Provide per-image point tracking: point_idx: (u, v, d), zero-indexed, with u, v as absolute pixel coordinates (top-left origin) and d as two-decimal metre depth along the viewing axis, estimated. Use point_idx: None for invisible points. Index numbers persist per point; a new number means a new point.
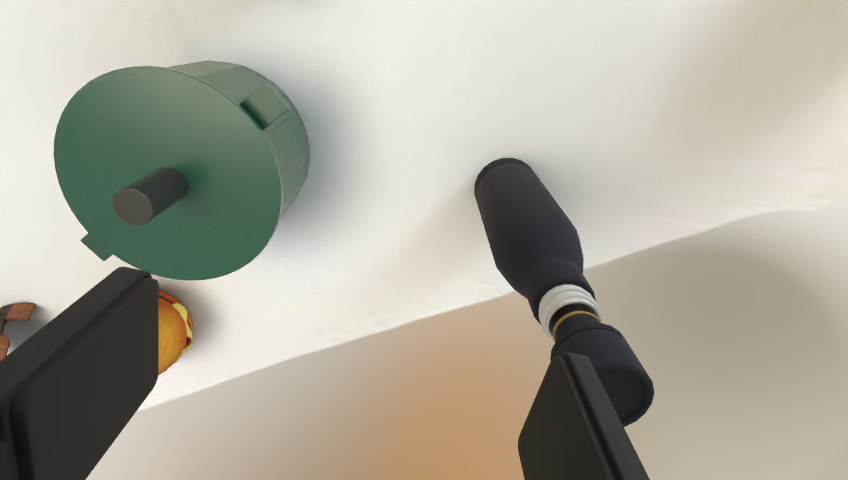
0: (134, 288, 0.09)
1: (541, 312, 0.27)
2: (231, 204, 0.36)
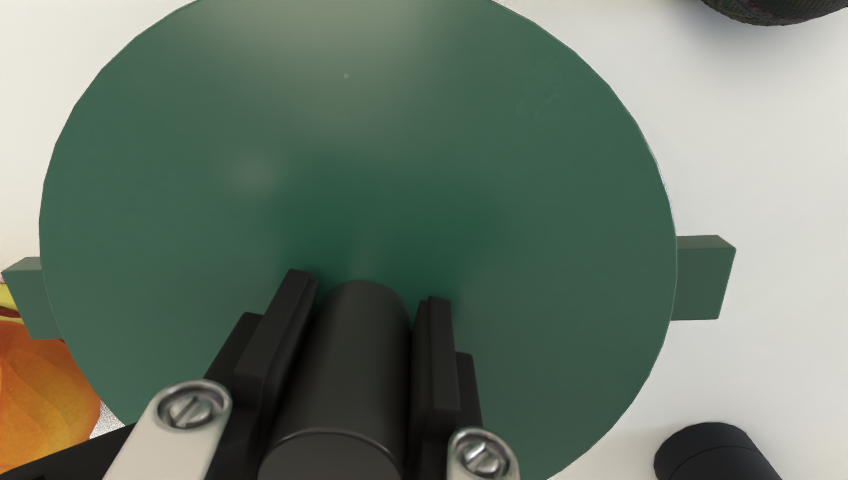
0: (308, 287, 0.11)
1: None
2: None
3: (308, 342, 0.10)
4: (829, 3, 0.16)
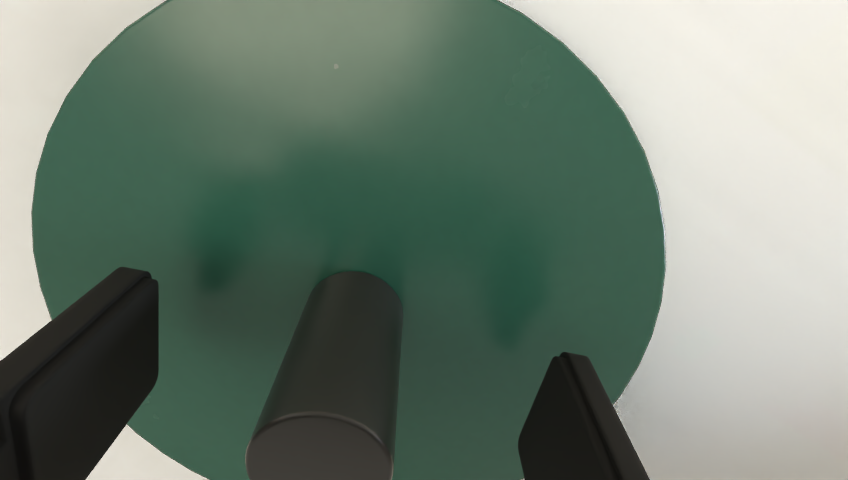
0: (134, 288, 0.09)
1: None
2: (450, 418, 0.14)
3: (299, 330, 0.10)
4: None
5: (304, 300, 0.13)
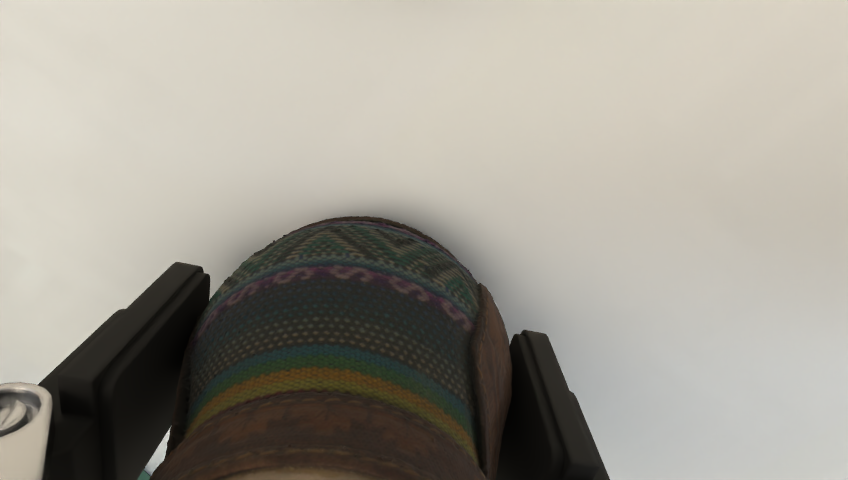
0: (191, 282, 0.10)
1: None
2: None
3: None
4: None
5: None
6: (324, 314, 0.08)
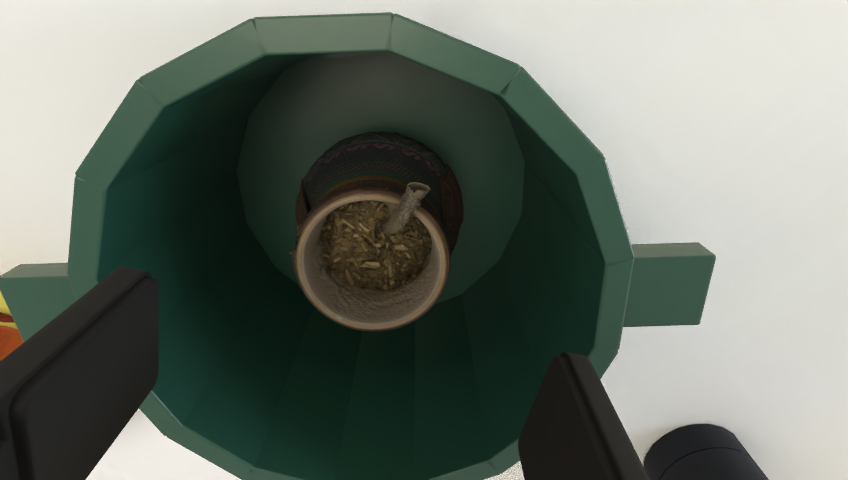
0: (134, 288, 0.09)
1: None
2: None
3: None
4: None
5: None
6: (373, 159, 0.18)
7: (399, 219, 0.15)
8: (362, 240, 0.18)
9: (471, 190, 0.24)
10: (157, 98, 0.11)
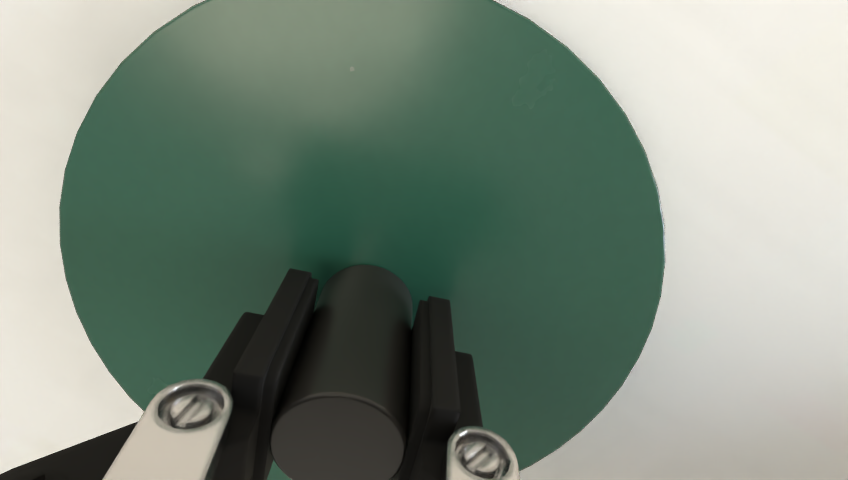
0: (308, 287, 0.11)
1: None
2: None
3: (315, 320, 0.11)
4: None
5: (318, 292, 0.13)
6: None
7: None
8: None
9: None
10: None
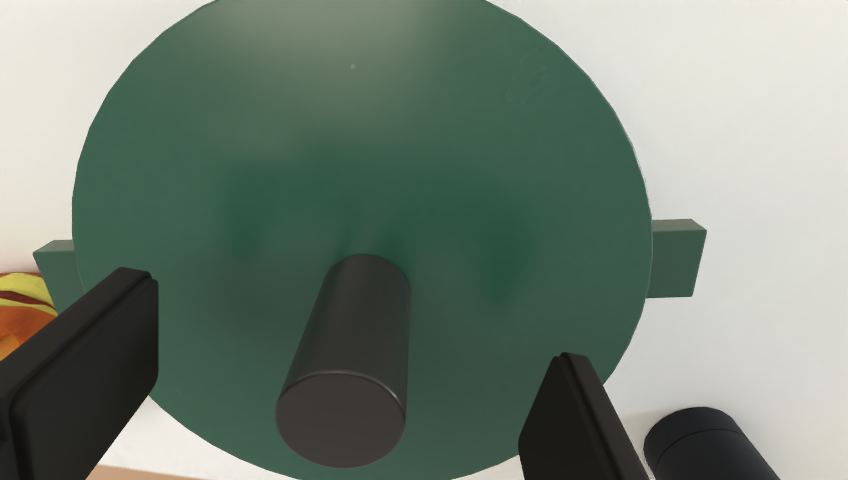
0: (134, 288, 0.09)
1: None
2: (454, 394, 0.15)
3: (318, 305, 0.12)
4: None
5: (320, 282, 0.14)
6: None
7: None
8: None
9: None
10: None
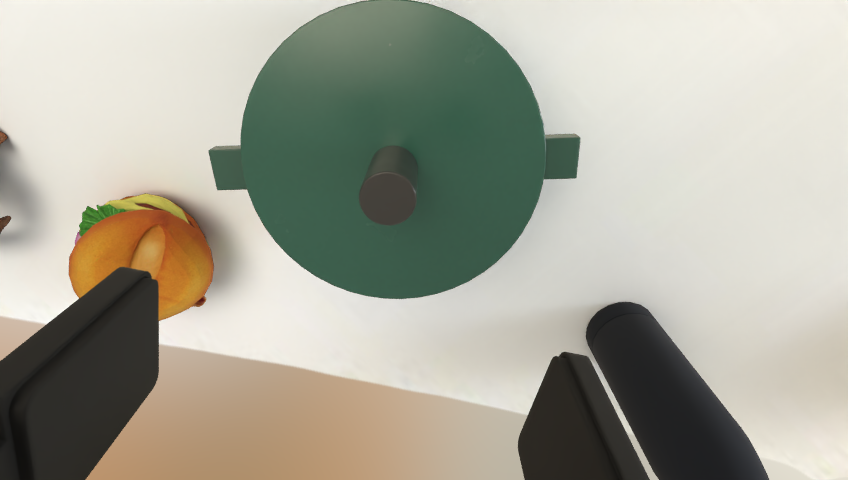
0: (134, 288, 0.09)
1: None
2: (441, 232, 0.27)
3: (372, 162, 0.24)
4: None
5: (369, 162, 0.26)
6: None
7: None
8: None
9: None
10: None
